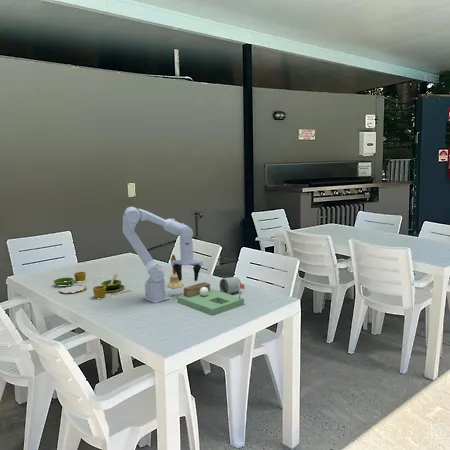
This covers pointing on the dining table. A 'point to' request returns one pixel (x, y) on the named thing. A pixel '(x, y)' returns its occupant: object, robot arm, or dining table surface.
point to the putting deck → (213, 301)
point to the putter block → (195, 289)
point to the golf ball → (204, 291)
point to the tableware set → (98, 291)
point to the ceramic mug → (229, 285)
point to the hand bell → (174, 278)
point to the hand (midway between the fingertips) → (188, 280)
